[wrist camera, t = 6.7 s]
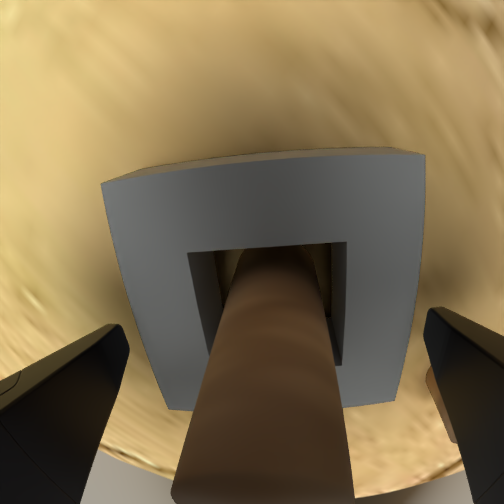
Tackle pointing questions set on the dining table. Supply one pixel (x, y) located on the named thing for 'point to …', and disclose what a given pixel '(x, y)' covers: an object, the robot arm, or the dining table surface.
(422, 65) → the dining table surface
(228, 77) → the dining table surface
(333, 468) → the long pin
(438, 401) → the short pin
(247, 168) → the socket block
